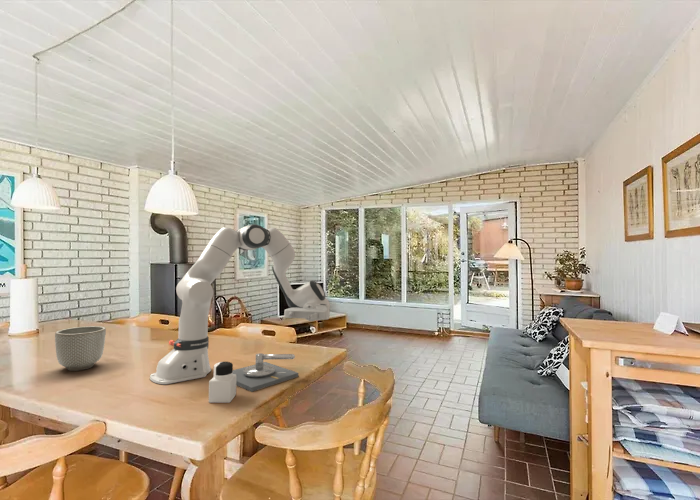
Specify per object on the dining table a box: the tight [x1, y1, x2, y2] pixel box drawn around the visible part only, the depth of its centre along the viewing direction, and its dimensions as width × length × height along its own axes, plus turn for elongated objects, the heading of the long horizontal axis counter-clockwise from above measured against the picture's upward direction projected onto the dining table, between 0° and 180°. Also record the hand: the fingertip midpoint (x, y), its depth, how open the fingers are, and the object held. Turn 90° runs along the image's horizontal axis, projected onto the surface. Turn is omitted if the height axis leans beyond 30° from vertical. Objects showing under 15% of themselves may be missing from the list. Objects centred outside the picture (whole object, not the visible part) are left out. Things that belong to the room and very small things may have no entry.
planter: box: [54, 325, 107, 372], centre depth 152 cm, size 17×17×16 cm
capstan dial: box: [244, 353, 296, 378], centre depth 144 cm, size 20×12×7 cm, turn 94°
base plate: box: [233, 361, 299, 393], centre depth 143 cm, size 22×22×2 cm
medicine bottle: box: [208, 361, 237, 404], centre depth 122 cm, size 7×7×12 cm
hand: (299, 316), depth 154 cm, fingers open, 8 cm apart
